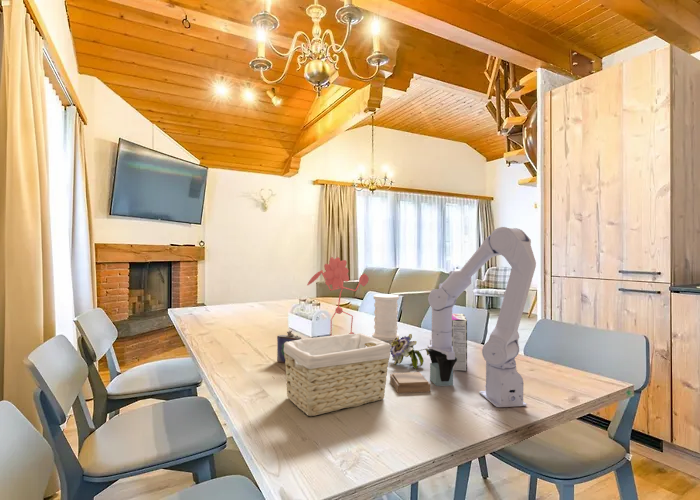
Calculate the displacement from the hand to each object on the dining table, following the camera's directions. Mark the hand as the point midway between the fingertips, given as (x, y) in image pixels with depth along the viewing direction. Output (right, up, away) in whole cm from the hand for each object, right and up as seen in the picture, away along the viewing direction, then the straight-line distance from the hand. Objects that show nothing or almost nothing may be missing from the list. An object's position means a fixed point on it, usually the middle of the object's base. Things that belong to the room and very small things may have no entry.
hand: (441, 377), depth 110 cm
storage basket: (-30, -2, -13) cm, 32 cm away
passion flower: (-7, -2, +17) cm, 19 cm away
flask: (-47, -1, +17) cm, 50 cm away
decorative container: (-11, -1, +54) cm, 55 cm away
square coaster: (-10, -1, -3) cm, 10 cm away
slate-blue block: (0, -2, 0) cm, 2 cm away
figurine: (-32, -1, +37) cm, 49 cm away
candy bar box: (+9, -2, +15) cm, 18 cm away
